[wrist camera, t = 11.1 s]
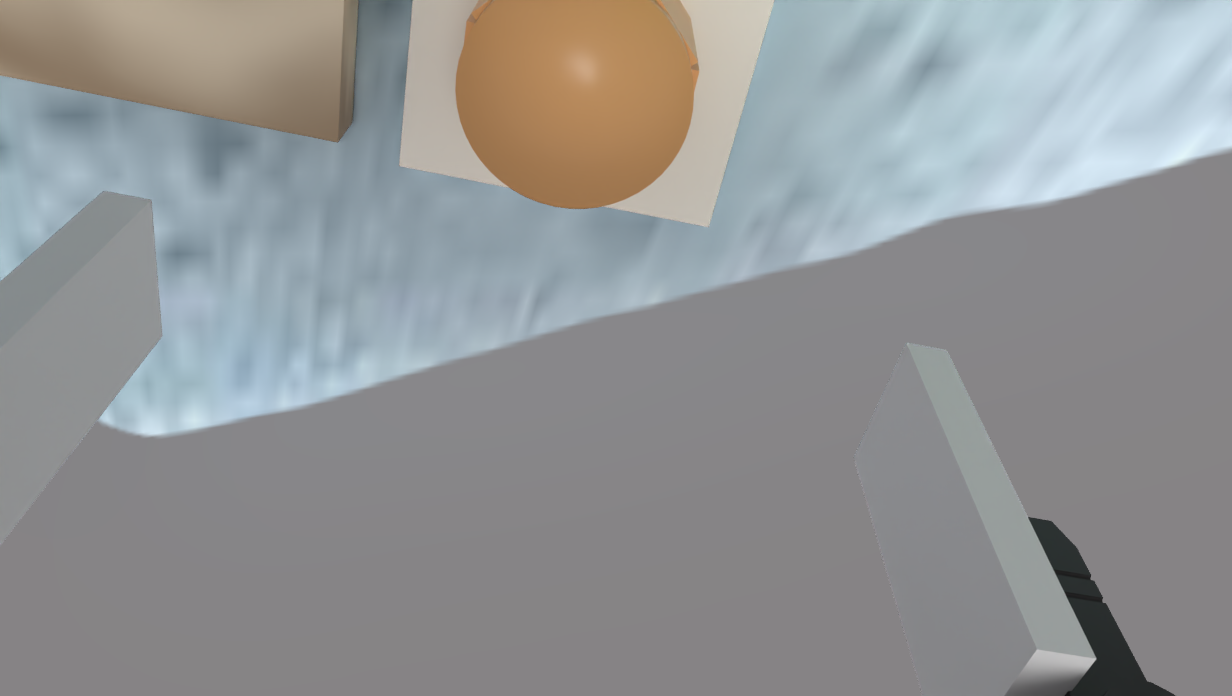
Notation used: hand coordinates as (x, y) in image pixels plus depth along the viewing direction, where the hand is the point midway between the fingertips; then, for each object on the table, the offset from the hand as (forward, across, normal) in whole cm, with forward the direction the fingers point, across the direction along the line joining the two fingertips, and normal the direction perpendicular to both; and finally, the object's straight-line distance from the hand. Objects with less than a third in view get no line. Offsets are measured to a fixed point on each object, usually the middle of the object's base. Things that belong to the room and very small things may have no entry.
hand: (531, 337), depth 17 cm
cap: (+19, 0, 0) cm, 19 cm away
